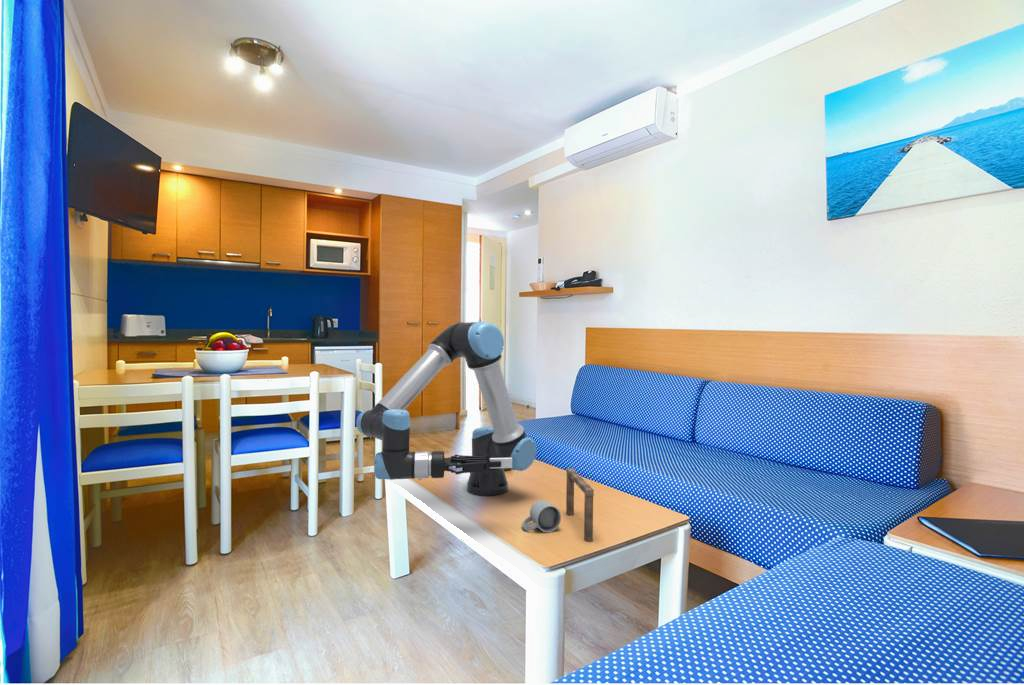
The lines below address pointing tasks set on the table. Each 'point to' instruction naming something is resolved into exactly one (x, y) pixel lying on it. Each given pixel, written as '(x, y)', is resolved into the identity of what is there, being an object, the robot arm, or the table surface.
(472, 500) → the table surface
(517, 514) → the table surface
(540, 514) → the ceramic mug
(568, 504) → the walnut gate
